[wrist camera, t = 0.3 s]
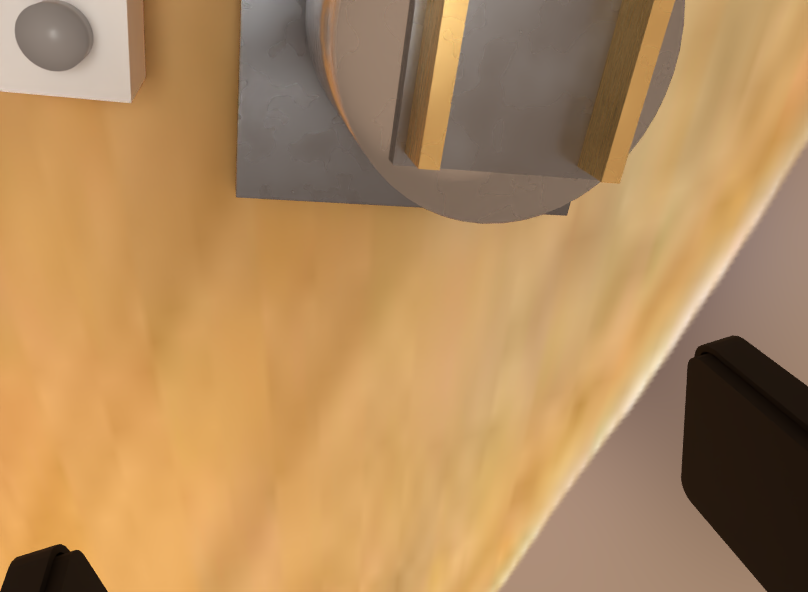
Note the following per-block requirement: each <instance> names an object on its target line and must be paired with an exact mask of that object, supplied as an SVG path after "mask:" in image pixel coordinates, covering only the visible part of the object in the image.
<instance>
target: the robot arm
mask: <svg viewBox="0 0 808 592" xmlns="http://www.w3.org/2000/svg"><path fill="white" fill-rule="evenodd" d="M685 404H686V405H685V420H684V438H683V455H682V473H681V481H682V486H683V488H684V491H685V493H686V495H687V497H688V498H689V500H690V501H691V503H692V504H693V505H694V506H695V507H696V509H697V510H698V511H699V512H700V513H701V514H702V516H703V517H704V518H705V519H706V520H707V521H708V523H709V524H710V525H711V526H712V527H713V529H714V530H715V531H716V532H717V533H718V534H719V535H720V537H721V538H722V539H723V540H724V541H725V543H726V544H727V545H728V546H729V547H730V548H731V550H732V551H733V552H734V553H735V554H736V555H737V556H738V558H739V559H740V560H741V561H742V563H743V564H744V565H745V566H746V567H747V568H748V570H749V571H750V572H751V573H752V574H753V575H754V577H755V578H756V579H757V580H758V581H759V583H761V585H762V586H763V587H764V588H765V590H766V591H767V592H808V386H807V385H805V384H804V383H802V382H801V381H800V380H798V379H797V378H796V377H794V376H793V375H792V374H790V373H789V372H788V371H786V370H785V369H783V368H782V367H781V366H780V365H778V364H777V363H776V362H774V361H773V360H771V359H770V358H769V357H767V356H766V355H765V354H763V353H762V352H761V351H759V350H758V349H757V348H755V347H754V346H753V345H751V344H750V343H748V342H747V341H746V340H744V339H743V338H741V337H739V336H730V337H726V338H723V339H720V340H717V341H714V342H711V343H707V344H704V345H701V346H699V347H698V348H697V350H696V352H695V357H694V358H691V359H690V360H689V362H688V369H687V386H686V403H685ZM0 592H108V591H107V590H106V588H105V587H104V585H103V584H102V582H101V581H100V579H99V577H98V576H97V574H96V573H95V571H94V570H93V568H92V567H91V565H90V564H89V562H88V560H87V559H86V557H85V556H84V554H83V553H82V552H81V551H79V550H75V551H71V552H70V551H69V550H68V549H67V547H66V546H64V545H62V544H59V545H55V546H51V547H48V548H45V549H42V550H38V551H35V552H32V553H29V554H26V555H22V556H19V557H16V558H15V559H14V560H13V561H12V562H11V564H10V566H9V568H8V571H7V574H6V577H5V580H4V582H3V585H2V588H1V591H0Z"/></svg>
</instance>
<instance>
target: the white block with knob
mask: <svg viewBox="0 0 808 592" xmlns="http://www.w3.org/2000/svg"><path fill="white" fill-rule="evenodd" d="M145 78H146V66H145V37H144V9H143V0H0V91H3V92H14V93H25V94H36V95H47V96H58V97H69V98H80V99H91V100H102V101H113V102H124V103H132V101H133V99H134V97H135V96H136V94H137V92H138V90H139V89H140V87H141V85H142V83H143V82H144V80H145Z"/></svg>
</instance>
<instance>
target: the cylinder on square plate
mask: <svg viewBox="0 0 808 592" xmlns="http://www.w3.org/2000/svg"><path fill="white" fill-rule="evenodd" d="M684 9H685V0H241V10H240V47H239V84H238V121H237V158H236V197H241V198H259V199H277V200H295V201H313V202H331V203H350V204H368V205H386V206H404V207H422V208H425V209H427V210H429V211H432V212H434V213H437V214H439V215H441V216H444V217H448V218H452V219H456V220H460V221H465V222H473V223H482V224H483V223H507V222H514V221H521V220H525V219H528V218H532V217H536V216H539V215H543V214H548V215H566V216H567V213H568V210H569V206H570V202H571V201H573V200H575V199H577V198H578V197H580V196H581V195H583V194H584V193H586V192H587V191H589V190H590V189H591V188H593V187H594V186H596V185H597V184H598V183H599V182H605V183H620V180H621V177H622V173H623V170H624V167H625V164H626V160H627V157H628V154H629V153H630V152H631V151H632V149H633V148H634V147H635V145H636V144H637V143H638V141H639V140H640V139H641V137H642V136H643V135H644V133H645V131H646V130H647V128H648V127H649V125H650V123H651V122H652V120H653V119H654V117H655V115H656V113H657V111H658V109H659V107H660V105H661V103H662V101H663V99H664V97H665V95H666V92H667V89H668V87H669V84H670V81H671V79H672V76H673V73H674V70H675V66H676V62H677V58H678V55H679V51H680V46H681V39H682V33H683V26H684Z"/></svg>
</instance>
